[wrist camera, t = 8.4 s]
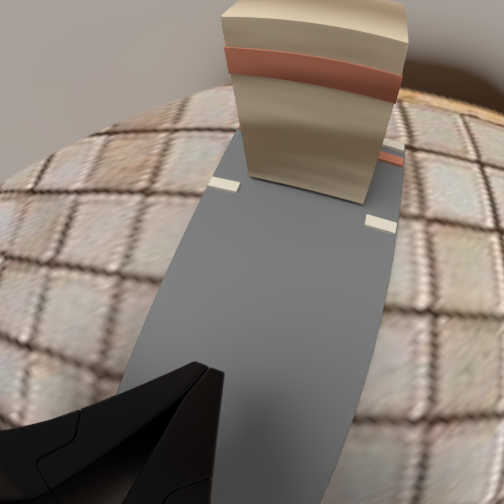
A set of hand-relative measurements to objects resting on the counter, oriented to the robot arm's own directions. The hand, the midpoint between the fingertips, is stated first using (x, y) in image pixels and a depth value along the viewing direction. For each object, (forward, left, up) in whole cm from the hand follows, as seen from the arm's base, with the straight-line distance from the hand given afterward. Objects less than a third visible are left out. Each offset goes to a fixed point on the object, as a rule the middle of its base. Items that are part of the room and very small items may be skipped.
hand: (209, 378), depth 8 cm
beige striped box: (+10, -7, -5) cm, 13 cm away
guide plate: (+3, -2, -6) cm, 8 cm away
